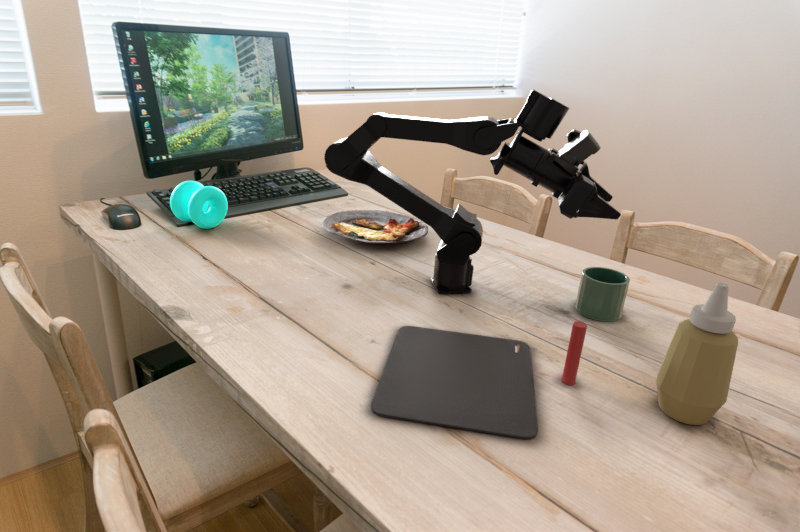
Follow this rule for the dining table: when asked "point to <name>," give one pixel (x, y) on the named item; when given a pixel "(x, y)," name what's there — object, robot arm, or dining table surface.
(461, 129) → the robot arm
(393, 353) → the mouse pad
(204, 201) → the turquoise spool
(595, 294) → the cup
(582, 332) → the red wooden peg
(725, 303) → the squeeze bottle
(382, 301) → the dining table surface
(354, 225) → the food plate
